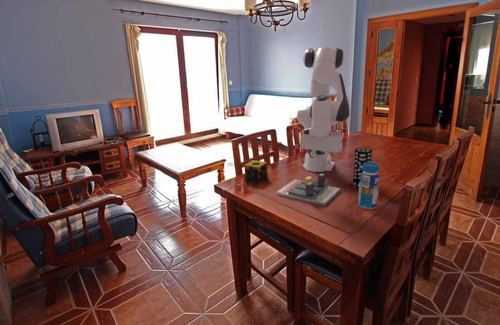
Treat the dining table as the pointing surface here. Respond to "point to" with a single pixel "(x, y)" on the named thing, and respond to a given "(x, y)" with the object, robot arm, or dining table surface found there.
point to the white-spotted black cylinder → (360, 163)
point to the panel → (318, 197)
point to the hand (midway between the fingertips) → (320, 159)
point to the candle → (256, 171)
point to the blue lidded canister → (369, 186)
